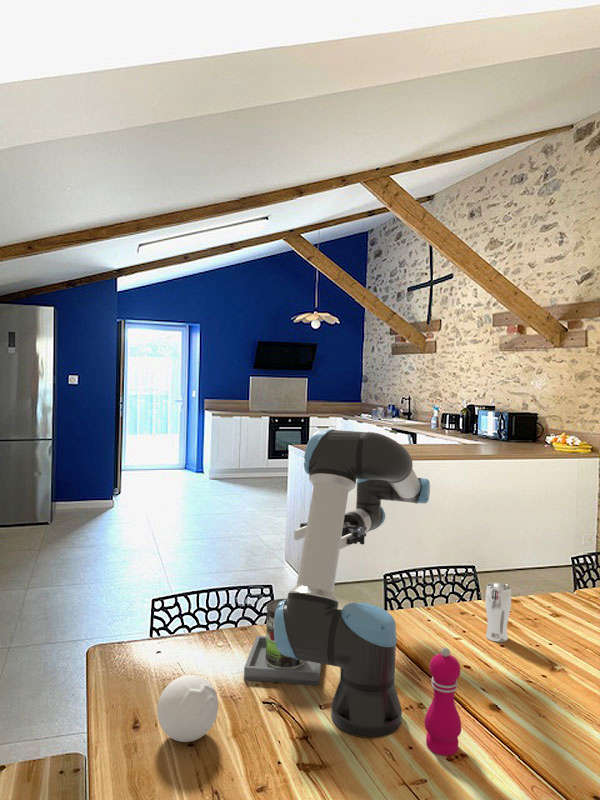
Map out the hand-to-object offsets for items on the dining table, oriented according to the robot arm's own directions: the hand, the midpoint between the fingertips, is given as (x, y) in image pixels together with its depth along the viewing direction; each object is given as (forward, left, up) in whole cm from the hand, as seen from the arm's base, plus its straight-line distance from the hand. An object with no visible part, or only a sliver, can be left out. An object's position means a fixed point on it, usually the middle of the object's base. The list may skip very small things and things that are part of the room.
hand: (316, 539), depth 159 cm
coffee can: (-9, +7, -29) cm, 31 cm away
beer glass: (+16, -51, -30) cm, 62 cm away
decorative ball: (-42, +23, -30) cm, 56 cm away
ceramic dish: (-9, +7, -30) cm, 32 cm away
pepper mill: (-38, -28, -30) cm, 56 cm away
